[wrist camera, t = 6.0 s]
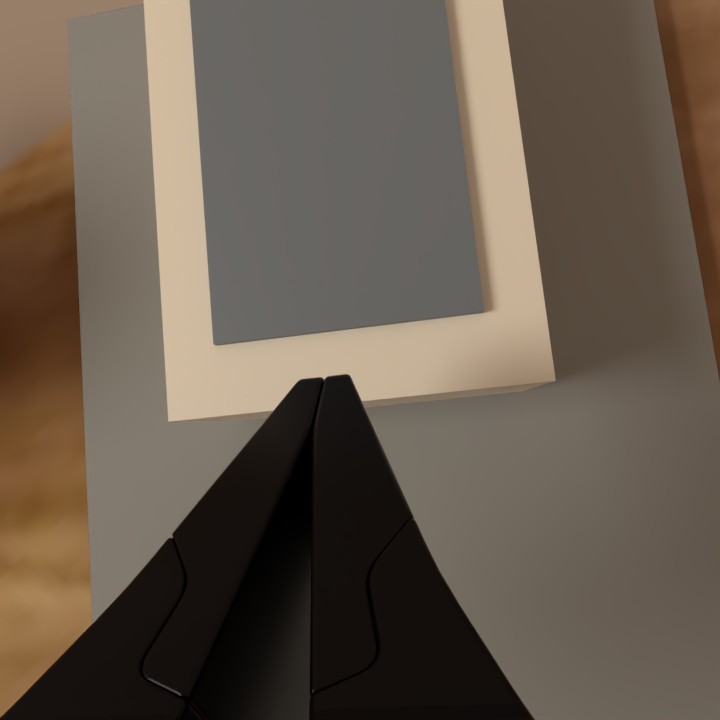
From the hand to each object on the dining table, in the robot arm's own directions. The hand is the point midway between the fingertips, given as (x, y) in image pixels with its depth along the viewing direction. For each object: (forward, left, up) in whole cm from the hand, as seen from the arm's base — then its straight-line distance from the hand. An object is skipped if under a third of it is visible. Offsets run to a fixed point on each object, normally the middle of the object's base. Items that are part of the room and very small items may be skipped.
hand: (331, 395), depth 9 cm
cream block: (0, 0, -4) cm, 5 cm away
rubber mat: (+1, -1, -8) cm, 8 cm away
